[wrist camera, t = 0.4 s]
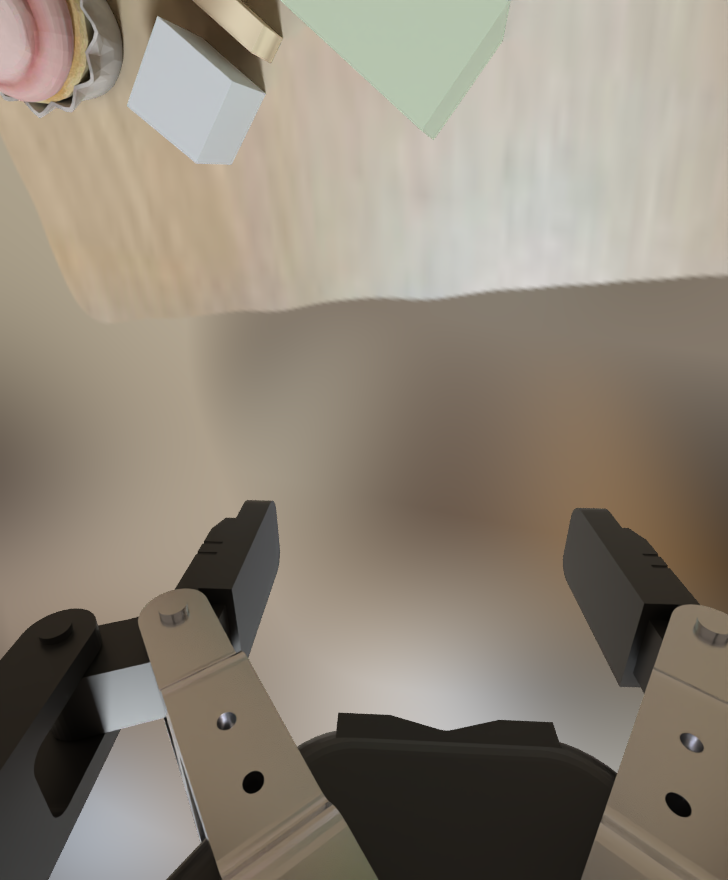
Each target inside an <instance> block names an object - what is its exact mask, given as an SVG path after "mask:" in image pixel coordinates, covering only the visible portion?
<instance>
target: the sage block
mask: <svg viewBox="0 0 728 880" xmlns="http://www.w3.org/2000/svg"><path fill="white" fill-rule="evenodd" d="M280 1H281V2H283V3H284V4H285V5H286V6H287V7H288V8H289V9H290V10H291V11H292V12H293V13H294V14H296V15H297V16H298V17H299V18H300V19H301V20H302V21H303V22H304V23H305V24H306V25H307V26H308V27H310V28H311V29H312V30H313V31H314V32H315V33H316V34H317V35H318V36H319V37H320V38H321V39H323V40H324V41H325V42H326V43H327V44H328V45H329V46H330V47H331V48H332V49H333V50H334V51H336V52H337V53H338V54H339V55H340V56H341V57H342V58H343V59H344V60H345V61H346V62H347V63H349V64H350V65H351V66H352V67H353V68H354V69H355V70H356V71H357V72H358V73H359V74H360V75H362V76H363V77H364V78H365V79H366V80H367V81H368V82H369V83H370V84H371V85H372V86H373V87H375V88H376V89H377V90H378V91H379V92H380V93H381V94H382V95H383V96H384V97H385V98H386V99H388V100H389V101H390V102H391V103H392V104H393V105H394V106H395V107H396V108H397V109H398V110H399V111H401V112H402V113H403V114H404V115H405V116H406V117H407V118H408V119H409V120H410V121H411V122H412V123H413V124H415V125H416V126H417V127H418V128H419V129H420V130H421V131H422V132H424V133H425V134H426V135H428V136H429V137H430V138H431V139H433V140H434V139H435V138H436V136H437V135H438V133H439V132H440V130H441V129H442V128H443V126H444V125H445V123H446V122H447V120H448V119H449V118H450V116H451V115H452V113H453V112H454V110H455V109H456V107H457V106H458V105H459V103H460V102H461V100H462V99H463V97H464V96H465V95H466V93H467V92H468V90H469V89H470V87H471V86H472V85H473V83H474V82H475V80H476V79H477V77H478V76H479V74H480V73H481V72H482V70H483V69H484V67H485V66H486V64H487V63H488V62H489V60H490V59H491V57H492V56H493V54H494V53H495V51H496V50H497V49H498V47H499V46H500V44H501V43H502V41H503V37H504V32H505V27H506V22H507V17H508V12H509V7H510V2H511V0H280Z"/></svg>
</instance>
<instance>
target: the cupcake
mask: <svg viewBox="0 0 728 880" xmlns="http://www.w3.org/2000/svg"><path fill="white" fill-rule="evenodd" d="M122 62H123V49H122V40H121V34H120V30H119V27H118V24H117V21H116V19H115V17H114V14H113V12H112V11H111V9H110V7H109V5H108V3H107V1H106V0H0V94H1V96H2V97H3V99H4V100H7V101H18V100H20V101H23V102H24V103H25V104H26V105H27V106H28V107H29V108H30V110H31V111H32V112H33V113H34V114H35V115H36V116H38V117H39V118H41V117H43V116H45V115H46V114H48V113H49V112H51V111H52V110H54V109H55V108H59V109H62V110H64V111H66V112H73V111H74V110H75V108H76V107H77V106H78V105H79V104H80V103H81V101H84V100H88V99H93V98H96V97H99V96H101V95H103V94H105V93H106V92H107V91H109V90H110V89H111V88H112V87H113V86H114V84H115V82H116V80H117V78H118V76H119V74H120V70H121V66H122Z"/></svg>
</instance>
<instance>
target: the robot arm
mask: <svg viewBox="0 0 728 880" xmlns="http://www.w3.org/2000/svg"><path fill="white" fill-rule="evenodd" d="M279 558H280V545H279V536H278V524H277V514H276V506H275V503H274V501H257V500H247V501H245V503H244V504H243V506H242V508H241V510H240V512H239V514H238V516H237V517H236V518H225V519H224V520H222V521H221V522H220V523H218V525H216V526H215V527H213V528H212V529H211V531H210V532H209V534H208V536H207V538H206V539H205V541H204V544H202V545H201V547H200V549H199V551H198V554H196V555H195V557H194V559H193V560H192V562H191V564H190V565H189V567H188V569H187V570H186V572H185V573H184V575H183V577H182V579H181V580H180V582H179V583H178V585H177V587H176V588H175V590H172V591H168V592H166V593H163V594H161V595H159V596H157V597H155V598H154V599H153V600H151V601H150V602H149V603H148V604H147V605H146V606H145V607H144V608H143V609H142V611H141V613H140V615H139V617H137V618H132V619H128V620H124V621H118V622H113V623H109V624H104V625H99V626H98V624H97V621H96V618H95V616H94V614H93V613H91V612H90V611H88V610H84V609H68V610H63V611H59V612H56V613H53V614H51V615H48V616H46V617H44V618H42V619H41V620H39V621H37V622H36V623H34V624H33V625H32V626H30V627H29V628H28V629H27V630H26V631H25V632H24V633H23V634H22V635H21V636H20V637H19V639H18V640H17V641H16V642H15V644H14V645H13V646H12V647H11V648H10V649H9V650H8V652H7V653H6V654H5V655H4V656H3V658H2V659H1V660H0V880H48V879H49V877H50V875H51V873H52V871H53V869H54V866H55V864H56V862H57V860H58V858H59V856H60V854H61V852H62V850H63V848H64V846H65V844H66V842H67V840H68V837H69V835H70V833H71V831H72V829H73V827H74V825H75V823H76V821H77V818H78V817H79V815H80V813H81V811H82V808H83V806H84V804H85V802H86V800H87V798H88V796H89V794H90V792H91V790H92V788H93V786H94V784H95V781H96V779H97V777H98V775H99V773H100V771H101V769H102V767H103V765H104V762H105V761H106V759H107V757H108V755H109V752H110V750H111V748H112V746H113V744H114V742H115V740H116V738H117V736H118V734H119V732H120V730H121V728H126V727H130V726H133V725H137V724H141V723H145V722H149V721H153V720H156V719H160V718H163V720H164V723H165V726H166V729H167V733H168V736H169V739H170V742H171V745H172V749H173V752H174V755H175V759H176V762H177V765H178V769H179V771H180V775H181V778H182V782H183V785H184V788H185V792H186V795H187V798H188V801H189V805H190V809H191V812H192V816H193V820H194V823H195V826H196V830H197V833H198V837H199V840H200V843H201V844H200V845H199V846H198V847H197V848H196V849H195V850H194V851H193V852H192V853H191V854H190V855H189V856H188V857H187V858H186V859H185V861H184V862H183V863H182V864H181V865H180V866H179V867H178V868H177V869H176V870H175V871H174V872H173V873H172V874H171V875H170V876H169V877H168V878H167V880H728V615H726V614H725V613H723V612H720V611H718V610H715V609H712V608H709V607H705V606H701V605H700V604H699V603H698V602H697V600H696V599H695V598H694V597H693V596H692V594H691V593H690V592H689V591H688V590H687V588H686V587H685V586H684V585H683V584H682V582H681V581H680V580H679V579H678V577H677V576H676V575H675V574H674V573H673V572H672V570H671V569H670V568H668V567H667V564H666V563H665V562H664V561H663V559H662V558H661V557H658V553H657V552H656V551H655V550H654V549H653V547H652V546H651V545H650V544H649V543H648V541H647V540H645V539H644V538H642V537H641V536H639V535H638V534H637V533H635V532H634V531H632V530H631V529H629V528H622V527H621V526H620V525H619V523H618V522H617V521H616V520H615V518H614V517H613V516H612V514H611V513H610V512H609V511H608V510H607V509H595V508H593V509H592V508H591V509H590V508H576V509H574V511H573V513H572V515H571V520H570V525H569V530H568V535H567V541H566V545H565V550H564V555H563V569H564V575H565V578H566V581H567V583H568V585H569V587H570V589H571V591H572V593H573V594H574V597H575V599H576V601H577V603H578V605H579V607H580V609H581V611H582V613H583V615H584V617H585V619H586V621H587V623H588V624H589V627H590V629H591V630H592V632H593V635H594V636H595V639H596V640H597V642H598V644H599V646H600V648H601V650H602V652H603V654H604V656H605V658H606V660H607V662H608V664H609V666H610V668H611V670H612V672H613V674H614V676H615V678H616V680H617V682H618V684H619V686H620V687H641V688H642V690H643V692H644V697H643V699H642V702H641V705H640V708H639V711H638V714H637V717H636V720H635V723H634V726H633V729H632V732H631V735H630V738H629V741H628V743H627V746H626V749H625V752H624V755H623V758H622V761H621V764H620V767H619V770H618V773H616V772H615V771H613V770H612V769H611V768H609V767H608V766H607V765H605V764H604V763H602V762H601V761H599V760H598V759H596V758H594V757H593V756H591V755H589V754H587V753H585V752H583V751H581V750H579V749H577V748H574V747H572V746H569V745H567V744H564V743H561V742H559V740H558V737H557V734H556V731H555V728H554V725H553V722H533V721H532V722H531V721H511V720H497V721H492V722H487V723H483V724H478V725H474V726H469V727H464V728H460V729H455V730H450V731H443V730H439V729H436V728H432V727H429V726H425V725H422V724H419V723H415V722H412V721H409V720H405V719H402V718H398V717H395V716H392V715H377V714H354V713H338V722H337V731H333V732H329V733H325V734H322V735H320V736H317V737H314V738H313V739H311V740H309V741H306V742H304V743H303V744H301V745H299V746H298V747H297V746H296V744H295V743H294V741H293V739H292V737H291V735H290V733H289V732H288V730H287V728H286V726H285V724H284V722H283V721H282V719H281V717H280V715H279V713H278V712H277V710H276V708H275V706H274V705H273V703H272V701H271V699H270V697H269V695H268V693H267V692H266V690H265V688H264V686H263V684H262V683H261V681H260V679H259V677H258V675H257V674H256V672H255V670H254V668H253V667H252V665H251V663H250V661H249V659H248V657H249V654H250V651H251V648H252V645H253V642H254V639H255V636H256V633H257V630H258V627H259V624H260V621H261V618H262V615H263V612H264V609H265V606H266V603H267V600H268V597H269V595H270V592H271V589H272V586H273V583H274V579H275V577H276V574H277V570H278V566H279Z"/></svg>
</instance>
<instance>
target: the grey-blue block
mask: <svg viewBox="0 0 728 880" xmlns="http://www.w3.org/2000/svg"><path fill="white" fill-rule="evenodd" d="M265 95H266V93H264V92H263V91H262V90H261V89H260V88H259V87H258V86H256V85H255V84H254V83H253V82H252V81H251V80H250V79H248V78H247V77H246V76H245V75H244V74H243V73H242V72H241V71H239V70H238V69H237V68H236V67H235V66H234V65H233V64H231V63H230V62H229V61H228V60H227V59H226V58H225V57H224V56H222V55H221V54H220V53H219V52H218V51H217V50H216V49H214V48H213V47H212V46H211V45H210V44H209V43H208V42H206V41H205V40H204V39H203V38H202V37H200V36H198V35H196V34H194V33H192V32H190V31H187V30H185V29H183V28H181V27H179V26H177V25H175V24H173V23H171V22H169V21H167V20H165V19H163V18H161V17H159V16H157V19H156V22H155V25H154V28H153V30H152V33H151V36H150V39H149V42H148V45H147V48H146V51H145V54H144V57H143V60H142V63H141V66H140V69H139V72H138V75H137V77H136V80H135V83H134V86H133V89H132V92H131V95H130V98H129V101H128V104H127V106H128V107H129V108H130V109H131V110H132V111H134V112H135V113H136V114H137V115H138V116H140V117H141V118H142V119H143V120H144V121H146V122H147V123H148V124H149V125H150V126H152V127H153V128H154V129H155V130H157V131H158V132H159V133H160V134H161V135H163V136H164V137H165V138H166V139H167V140H169V141H170V142H171V143H172V144H173V145H175V146H176V147H177V148H178V149H179V150H181V151H182V152H183V153H184V154H185V155H187V156H188V157H189V158H190V159H191V160H193V161H194V162H195V163H197V164H228V165H232V163H233V161H234V159H235V157H236V154H237V152H238V150H239V148H240V146H241V144H242V142H243V140H244V138H245V136H246V134H247V132H248V130H249V128H250V126H251V124H252V121H253V119H254V117H255V115H256V113H257V111H258V109H259V107H260V105H261V103H262V101H263V99H264V97H265Z"/></svg>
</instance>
